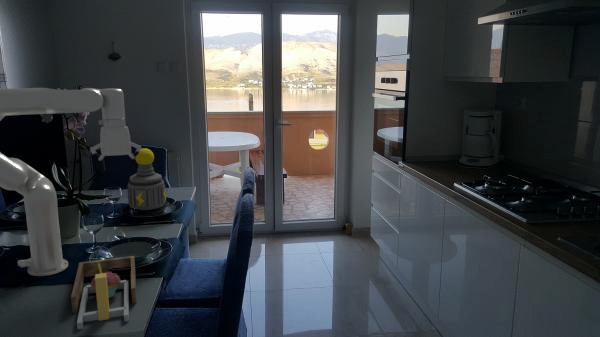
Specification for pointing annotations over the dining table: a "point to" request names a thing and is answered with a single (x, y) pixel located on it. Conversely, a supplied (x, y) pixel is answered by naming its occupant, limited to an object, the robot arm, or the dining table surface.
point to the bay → (92, 269)
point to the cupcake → (108, 282)
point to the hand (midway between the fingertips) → (117, 169)
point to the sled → (102, 302)
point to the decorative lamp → (146, 184)
